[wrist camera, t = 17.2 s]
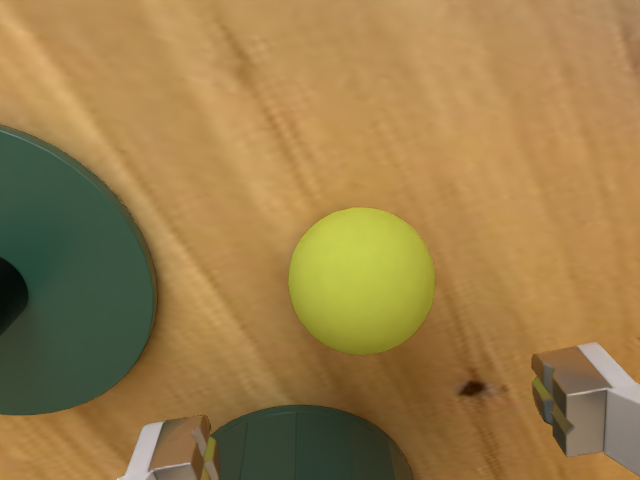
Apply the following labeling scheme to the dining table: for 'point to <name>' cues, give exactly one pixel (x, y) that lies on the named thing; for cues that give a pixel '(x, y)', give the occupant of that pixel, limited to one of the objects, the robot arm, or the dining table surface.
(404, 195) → the dining table surface
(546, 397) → the robot arm
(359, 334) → the ball
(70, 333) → the canister lid
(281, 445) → the canister
